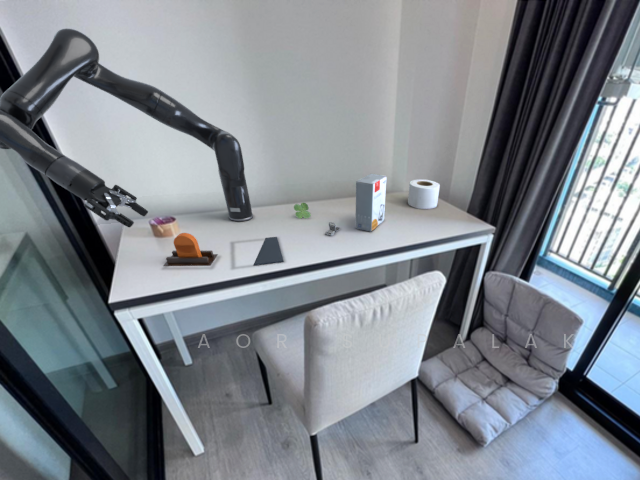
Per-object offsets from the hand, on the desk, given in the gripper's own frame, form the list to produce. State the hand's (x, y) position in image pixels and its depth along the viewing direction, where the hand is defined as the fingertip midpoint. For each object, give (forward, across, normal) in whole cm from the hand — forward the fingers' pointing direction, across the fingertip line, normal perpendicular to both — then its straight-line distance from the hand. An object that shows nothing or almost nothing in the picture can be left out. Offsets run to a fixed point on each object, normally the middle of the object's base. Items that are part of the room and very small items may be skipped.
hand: (139, 219), depth 97 cm
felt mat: (+31, -8, +10) cm, 34 cm away
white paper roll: (+82, -63, +61) cm, 120 cm away
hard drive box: (+61, -34, +40) cm, 81 cm away
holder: (+18, 0, -3) cm, 18 cm away
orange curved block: (+17, 0, -2) cm, 17 cm away
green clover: (+41, -43, +20) cm, 62 cm away
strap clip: (+50, -26, +29) cm, 63 cm away
